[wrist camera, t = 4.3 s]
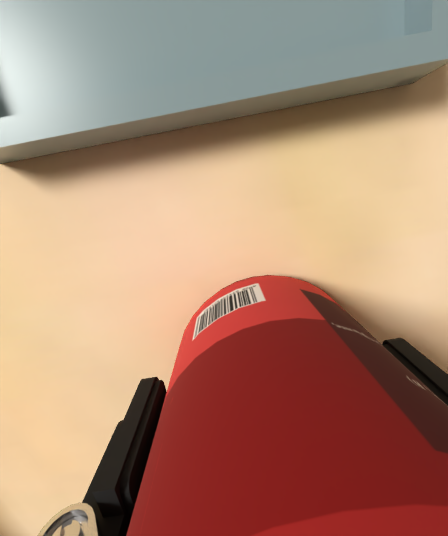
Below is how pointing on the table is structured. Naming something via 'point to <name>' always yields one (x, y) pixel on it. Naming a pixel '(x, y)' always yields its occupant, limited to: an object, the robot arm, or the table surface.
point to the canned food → (292, 426)
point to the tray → (195, 62)
